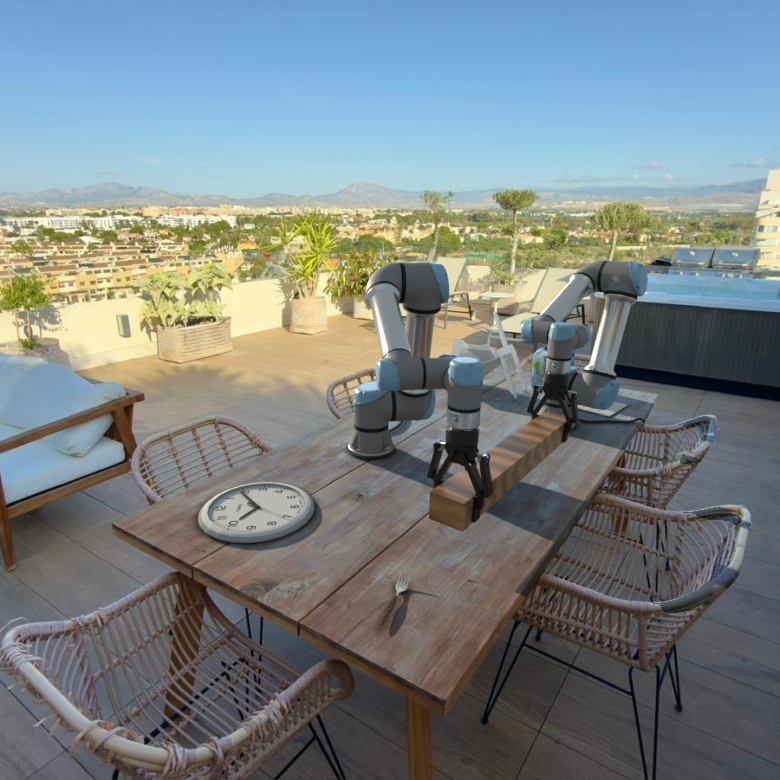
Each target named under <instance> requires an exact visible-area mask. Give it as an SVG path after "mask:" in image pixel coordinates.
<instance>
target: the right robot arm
mask: <svg viewBox="0 0 780 780" xmlns="http://www.w3.org/2000/svg"><path fill="white" fill-rule="evenodd" d="M648 279H649V277H648V270H647V267H646V266H645V264H644V263H642V262H636V261H630V260H629V261H621V260H604V259H603V260H601V259H600V260H596V261H593V262H590V263H588V264H586V265H584V266H582V267H581V268H579V269H578V270H576V271H575V272H574V273H573V274H572V275H571V276H570V277H569V279H568V281H567V284H566V286H565V287H564V288H563V289H562V290H560V292H559V293H558V294H557V296H556V297H555V298H553V300H552V301H551V302H550V303H549V304H548V305H547V306H546V308H544V310H543V311H542V312H541V313H540V314H539V315H538V316H537V317H536V318H535V319H534V318H528V319H525V320H524V321H523V323H522V324H521V327H520V336H521V338H522V339H523V341H528V342H531V343H537V344H542V345H547V346H548V351H547V358H546V368H545V369H546V371H545V375H544V379H543V380H544V381H543V385H539V384H537V385H535V386H534V387H533V388H532V389H533V393H532V395H531V398H530V401H529V403H528V406H527V409H526V413H528V414H531V421H532V420H533V419H535V418H536V417H537V416H539V415H540V414H542V413H543V412H549V413H554V414H558V415H563V416H565V418H566V421H567V422H565V423H564V431H563V439H562V442H563V443H566V442H567V441H568V439H569V438H568V433H569V434H570V433H571V432H572V430H574V429H575V428H576V424H577V423H578V422H579V423H586V424H601V423H603V424H605V423H610V424H613V423H614V424H632V423H636V422H639V421H641V422H643V423H646V420H645V419H644V418H642V417H637V418H634V419H631V420H621V419H620V420H616V419H600V420H598V419H597V420H589V419H587V420H586V419H581V418H580V416H579V414H580V413H579V409H578V405H582V406H586V407H590V408H593V409H599V410H606V409H608V408H609V407H610V406H611V405H612V404H613V403H614V402H616V399H617V398H618V395H619V392H620V382H619V380H618V379H617V374H616V372H615V371H614V370H615V366H616V363H617V359H618V355H619V351H620V347H621V344H622V339H623V336H624V333H625V329H626V325H627V321H628V317H629V314H630V311H631V307H632V306H633V305H634V304H636V303H637V301H638V298H641V297H643V296H645V294H646V292H647V290H648ZM593 293H603V294H602V298H603V299H604V301H605V303H604V307H603V310H602V314H601V318H600V322H599V325H598V329H597V333H596V337H595V341H594V344H593V349H592V351H591V356H590V359H589V362H588V365H587V366H584V367H583V369H582V372H578V368H577V367H576V366H574V365H573V366H571V359H572V351H573V350H578V349H581V348H584V347H585V346H587V345H588V344H590V342H591V340H592V337H593V336H592V335H593V334H592V331H591V328H590V327H589V326H588V325H586V324H583V323H581V324H578V323H577V324H574V323H572V322H565V320H566V319H567V318H568V317H569V316H570V314H571V313H572V312H573V310H575V308H576V307H578V305H579V304H580V303H581V302H582V301H583V299H585V298H587V297H589V296H591V294H593ZM541 389H542V390H541ZM541 391H542V394H541V400H540V401H538V397H539V395H540V392H541ZM537 401H538V404H537V405H536V403H537ZM567 438H568V439H567ZM563 443H562V444H563Z"/></svg>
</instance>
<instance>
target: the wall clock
mask: <svg viewBox="0 0 780 780" xmlns="http://www.w3.org/2000/svg"><path fill="white" fill-rule="evenodd" d="M314 512H315V503H314V499H313V498H312V497H311V495H310V493H307V492H306V491H304V490H303V489H301V488H300V487H297V486H295V485H292V484H289V483H283V482H276V481H275V482H274V481H273V482H272V481H261V482H251V483H245V484H241V485H237V486H235V487H234V486H233V487H231V488H229V489H226V490H224V491H222V492H219V493H217V494H215V495H214V496H213V497H211V499H209V500H208V501H206V502H205V503H204V505H202V507H201V509H200V510H199V512H198V518H197V521H198V525H199V528H200V530H202V531H203V532H204V533H205V534H206V535H207V536H210V537H212V538H213V539H215V540H218V541H222V542H227V543H233V544H234V543H235V544H253V543H262V542H269V541H272V540H276V539H280V538H283V537H285V536H287V535H290V534H292V533H294V532H296V531H298V530H299V529H300V528H302V527H304V526H305V525H306V524H307V523H308V522H309V520H310V519H312V517H313V515H314Z"/></svg>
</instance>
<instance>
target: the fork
mask: <svg viewBox="0 0 780 780" xmlns="http://www.w3.org/2000/svg"><path fill="white" fill-rule="evenodd" d="M402 573H403V575H402ZM412 573H413V571H410V574H409V572H407V573H406V571H404V572H403V570H400V574H399V577H398V579H397V582H396V584H395V590H396V593H395V595H394V596H393V597H392V599H391V600H390V601H389V603H388V605H387V607H386V609H385V611H384V615H383V617H382V619H381V622H380V624H379V626H380V627H382V626H383V624H384V623H385V621H386V619H388V617H389V615H390V614H391V612H392V611H393V609H394V607H395V605H396V602H397V600H398V596H399V594H401V593H404V592H405V591H407V590H408V588H409V585H410V581H411V578H412ZM405 574H406V576H405ZM408 575H409V577H408ZM407 580H408V581H407Z"/></svg>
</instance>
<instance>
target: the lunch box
mask: <svg viewBox="0 0 780 780" xmlns="http://www.w3.org/2000/svg"><path fill="white" fill-rule="evenodd" d="M575 350H576V349H575ZM575 350H573V351H572V359H571V366H573V367H574V363H575V352H576V351H575ZM547 351H548V345H547V346H546V345H545V346H544V347H541V348H538V349H537V350H536V351H535V352H534V354H533V357H532V362H531V371H530V372H531V374H530V387H531V389H533V387H534V386H535V385H537V384H539V385H543V381H544V380H543V379H544V375H545V371H546V369H545V368H546V358H547ZM541 391H543V390H542V389H541Z"/></svg>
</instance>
